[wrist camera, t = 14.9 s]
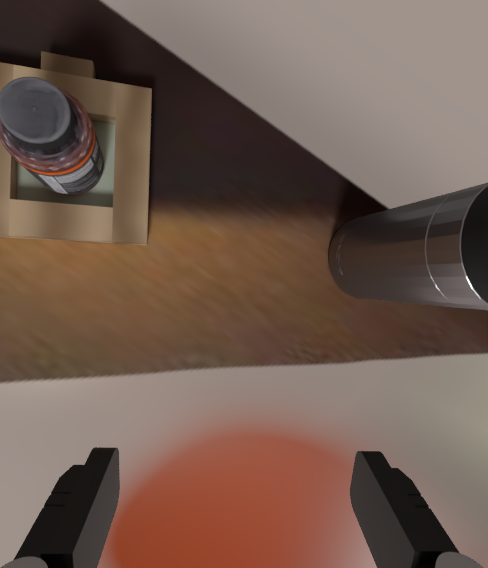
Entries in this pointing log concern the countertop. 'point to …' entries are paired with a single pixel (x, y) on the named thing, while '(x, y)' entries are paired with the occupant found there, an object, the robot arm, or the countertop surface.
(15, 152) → the supplement bottle
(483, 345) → the countertop surface
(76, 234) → the holder
